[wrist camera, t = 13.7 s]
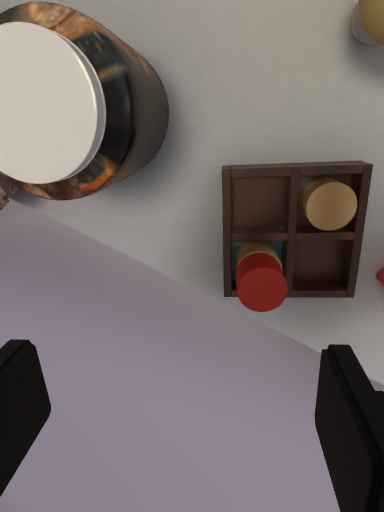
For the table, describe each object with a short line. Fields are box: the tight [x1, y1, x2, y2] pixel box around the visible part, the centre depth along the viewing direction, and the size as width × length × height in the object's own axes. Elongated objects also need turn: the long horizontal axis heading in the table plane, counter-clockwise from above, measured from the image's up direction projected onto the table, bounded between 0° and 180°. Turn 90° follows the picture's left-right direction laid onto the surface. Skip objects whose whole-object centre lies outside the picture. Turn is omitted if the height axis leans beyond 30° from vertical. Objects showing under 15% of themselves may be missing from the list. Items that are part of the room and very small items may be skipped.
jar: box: [0, 2, 169, 200], centre depth 26 cm, size 12×12×15 cm
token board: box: [222, 161, 373, 298], centre depth 34 cm, size 13×13×3 cm
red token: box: [236, 253, 288, 312], centre depth 31 cm, size 4×4×4 cm
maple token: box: [236, 241, 282, 269], centre depth 35 cm, size 4×4×4 cm
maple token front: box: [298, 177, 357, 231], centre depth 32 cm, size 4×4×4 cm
